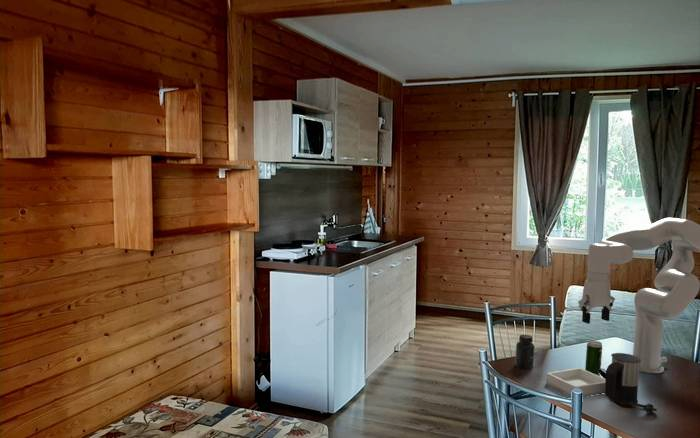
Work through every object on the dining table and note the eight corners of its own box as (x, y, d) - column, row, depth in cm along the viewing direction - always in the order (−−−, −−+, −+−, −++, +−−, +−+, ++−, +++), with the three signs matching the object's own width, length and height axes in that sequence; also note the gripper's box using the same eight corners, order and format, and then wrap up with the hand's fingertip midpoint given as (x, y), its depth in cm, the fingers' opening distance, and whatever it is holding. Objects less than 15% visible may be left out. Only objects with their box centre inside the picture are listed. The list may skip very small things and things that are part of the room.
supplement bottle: (534, 370, 214) (536, 339, 213) (515, 368, 215) (517, 338, 214) (532, 364, 220) (534, 334, 219) (514, 362, 222) (515, 332, 221)
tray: (579, 378, 207) (579, 367, 206) (610, 392, 194) (611, 381, 194) (545, 383, 200) (546, 373, 200) (575, 399, 188) (576, 387, 187)
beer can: (585, 374, 211) (587, 343, 209) (584, 369, 216) (586, 339, 215) (601, 376, 209) (603, 345, 208) (599, 371, 214) (601, 341, 213)
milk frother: (611, 391, 195) (615, 350, 194) (662, 405, 185) (666, 361, 184) (600, 404, 184) (603, 360, 183) (653, 419, 174) (657, 373, 173)
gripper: (606, 273, 215) (604, 316, 217) (573, 276, 208) (570, 321, 210) (623, 276, 208) (620, 321, 210) (588, 280, 201) (586, 326, 203)
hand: (595, 321), depth 210 cm, fingers open, 9 cm apart
